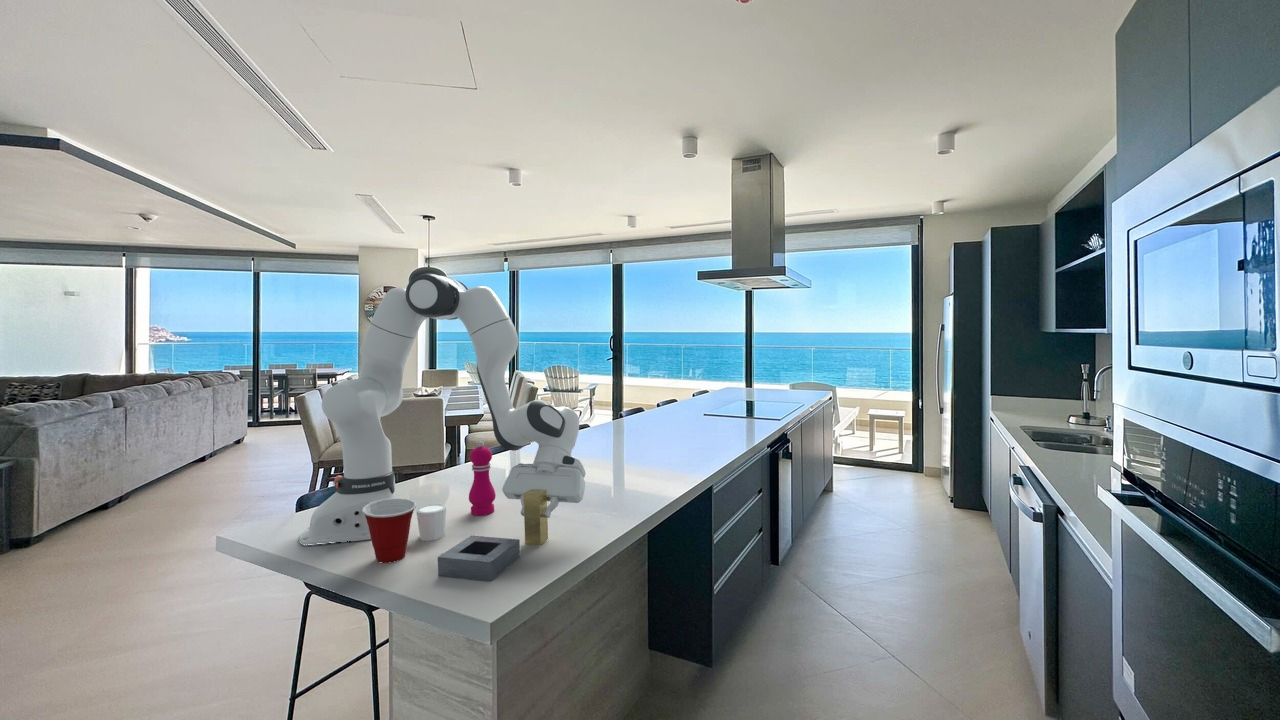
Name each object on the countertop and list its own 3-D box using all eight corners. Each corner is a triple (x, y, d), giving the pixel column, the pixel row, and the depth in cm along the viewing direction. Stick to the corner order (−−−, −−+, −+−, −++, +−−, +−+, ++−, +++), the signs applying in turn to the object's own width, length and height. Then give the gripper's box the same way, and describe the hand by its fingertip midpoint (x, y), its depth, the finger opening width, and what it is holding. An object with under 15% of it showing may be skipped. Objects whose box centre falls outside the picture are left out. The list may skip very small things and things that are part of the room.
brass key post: (525, 544, 122) (523, 493, 121) (532, 538, 126) (531, 488, 125) (540, 545, 121) (539, 494, 120) (548, 539, 125) (546, 489, 124)
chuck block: (438, 576, 106) (437, 557, 106) (471, 553, 117) (471, 535, 117) (491, 582, 103) (490, 562, 103) (520, 557, 114) (519, 539, 114)
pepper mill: (489, 506, 151) (487, 437, 150) (500, 512, 146) (498, 441, 145) (465, 511, 147) (462, 441, 146) (475, 518, 141) (472, 444, 140)
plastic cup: (383, 573, 108) (380, 515, 108) (353, 562, 114) (351, 507, 113) (428, 554, 117) (426, 501, 117) (399, 545, 123) (397, 494, 123)
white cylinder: (411, 538, 127) (410, 509, 127) (436, 529, 133) (435, 502, 133) (428, 543, 124) (427, 514, 123) (453, 534, 129) (452, 506, 129)
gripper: (509, 456, 132) (489, 506, 123) (585, 459, 127) (570, 512, 118) (518, 469, 136) (500, 519, 127) (591, 473, 131) (578, 525, 122)
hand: (534, 515), depth 122 cm, fingers closed on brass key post, 4 cm apart
